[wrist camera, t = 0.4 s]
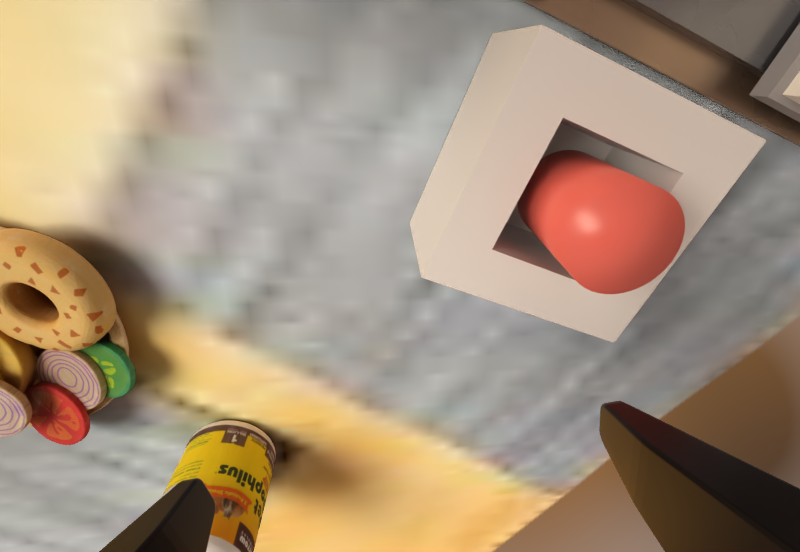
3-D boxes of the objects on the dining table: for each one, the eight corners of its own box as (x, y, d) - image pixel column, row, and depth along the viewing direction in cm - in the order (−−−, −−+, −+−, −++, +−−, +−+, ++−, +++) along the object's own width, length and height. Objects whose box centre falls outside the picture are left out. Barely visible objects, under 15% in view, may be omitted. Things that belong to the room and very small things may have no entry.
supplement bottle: (294, 455, 29) (258, 639, 20) (228, 485, 30) (164, 673, 21) (242, 402, 26) (174, 583, 17) (171, 436, 27) (72, 624, 18)
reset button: (501, 219, 18) (544, 273, 13) (546, 135, 16) (610, 165, 12) (574, 247, 19) (637, 307, 14) (623, 169, 17) (710, 210, 13)
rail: (511, -6, 17) (530, -14, 15) (593, -194, 15) (631, -237, 13) (825, 159, 21) (877, 171, 19) (931, 30, 19) (1005, 27, 17)
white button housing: (409, 222, 22) (421, 277, 16) (492, 33, 18) (542, 24, 13) (562, 279, 24) (618, 344, 18) (665, 119, 20) (771, 142, 15)
